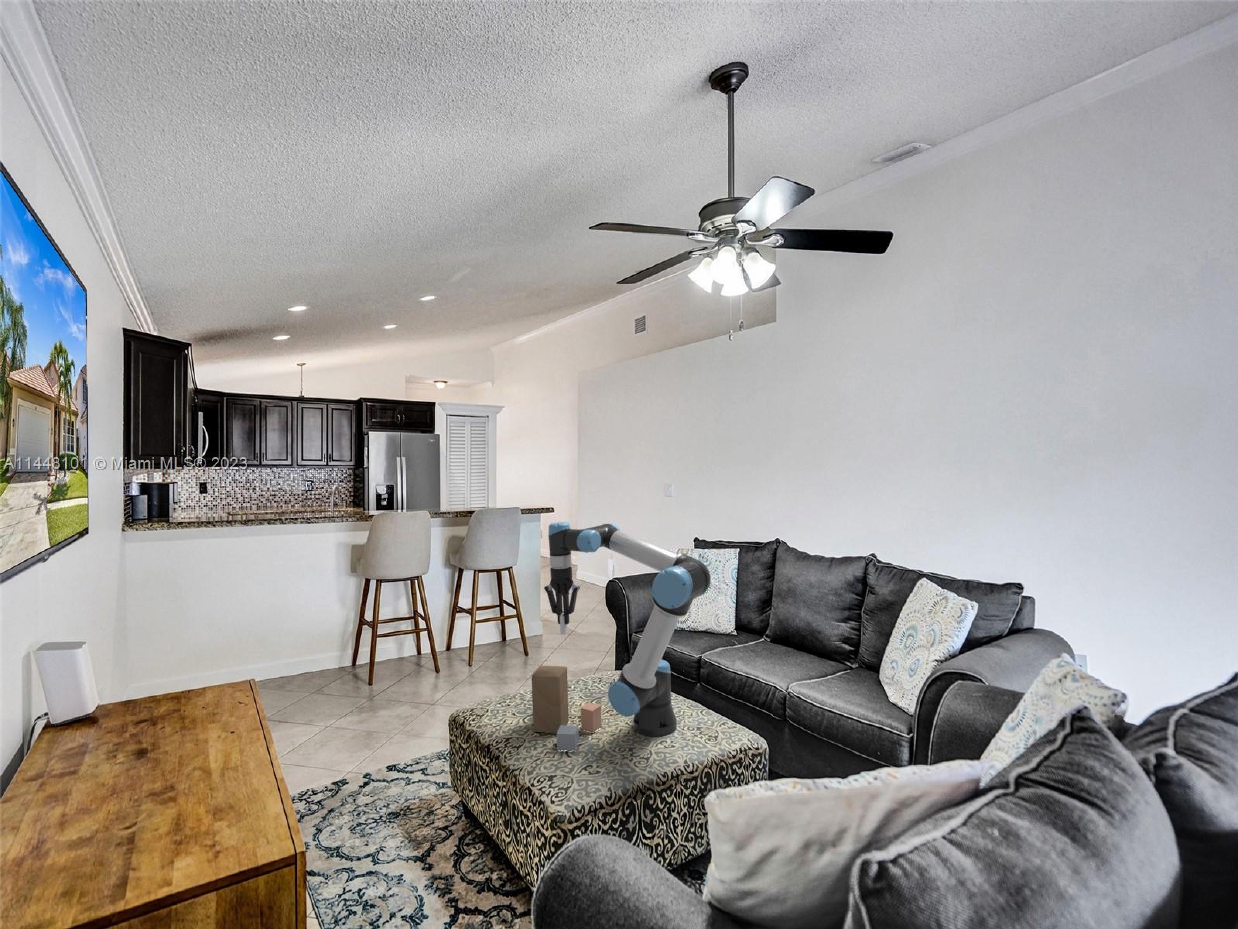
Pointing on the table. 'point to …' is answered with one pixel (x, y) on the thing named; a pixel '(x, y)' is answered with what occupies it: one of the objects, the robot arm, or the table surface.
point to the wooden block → (550, 698)
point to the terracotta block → (591, 717)
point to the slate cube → (567, 737)
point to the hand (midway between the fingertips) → (564, 633)
